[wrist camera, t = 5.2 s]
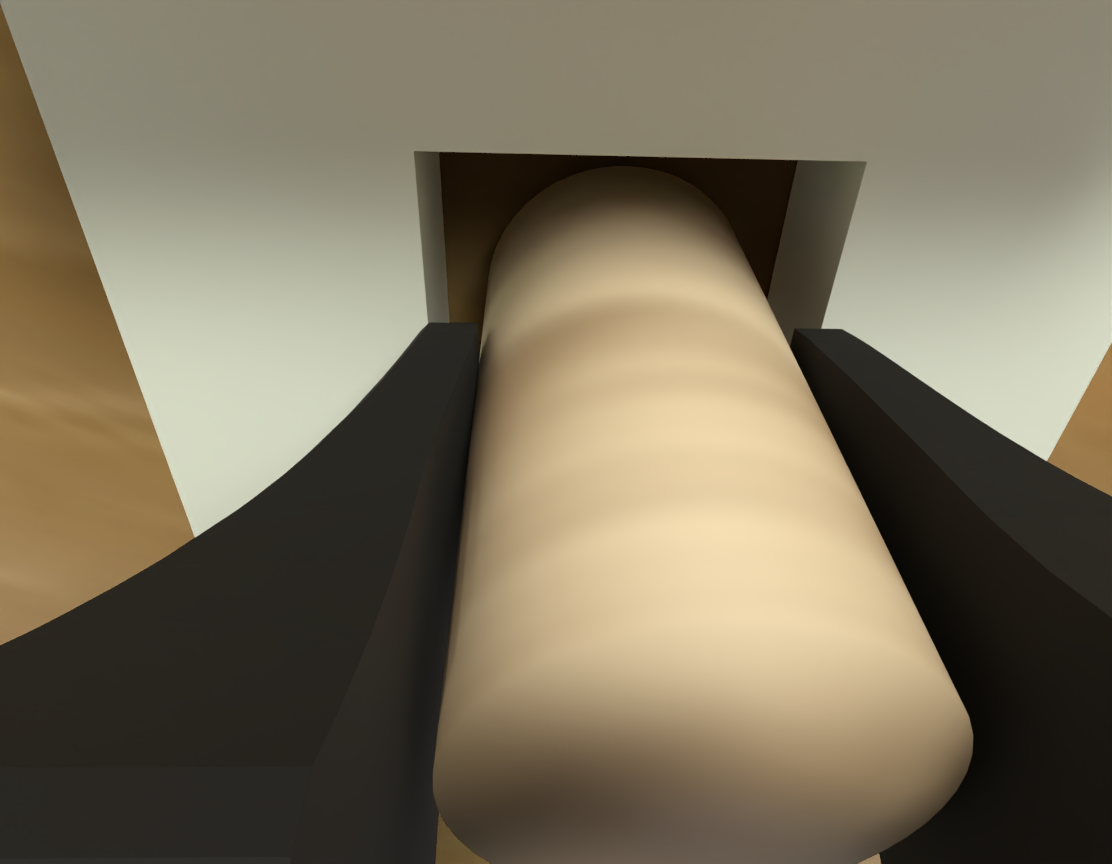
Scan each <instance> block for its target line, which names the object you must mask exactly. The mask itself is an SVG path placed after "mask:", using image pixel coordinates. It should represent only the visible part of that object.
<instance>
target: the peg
mask: <svg viewBox="0 0 1112 864" xmlns="http://www.w3.org/2000/svg"><path fill="white" fill-rule="evenodd" d="M972 753H973V732H972V727H971V723H970V718H969V716H968V713H967V711H966V709H965V707H964V705H963V703H962V701H961V699H960V697H959V695H958V693H957V691H956V689H955V687H954V685H953V683H952V681H951V678H950V676H949V674H948V672H947V670H946V668H945V666H944V664H943V662H942V660H941V658H940V656H939V654H938V652H937V650H936V648H935V645H934V643H933V641H932V639H931V637H930V635H929V633H928V631H927V629H926V627H925V625H924V623H923V621H922V619H921V617H920V615H919V613H918V610H917V608H916V606H915V604H914V602H913V600H912V598H911V596H910V594H909V592H908V590H907V588H906V586H905V584H904V582H903V580H902V578H901V575H900V573H899V571H898V569H897V567H896V565H895V563H894V561H893V559H892V557H891V555H890V553H889V551H888V549H887V547H886V545H885V542H884V540H883V538H882V536H881V534H880V532H879V530H878V528H877V526H876V524H875V522H874V520H873V518H872V516H871V514H870V512H869V510H868V507H867V505H866V503H865V501H864V499H863V497H862V495H861V493H860V491H859V489H858V487H857V485H856V483H855V481H854V479H853V477H852V474H851V472H850V470H849V468H848V466H847V464H846V462H845V460H844V458H843V456H842V454H841V452H840V450H839V448H838V446H837V444H836V442H835V439H834V437H833V435H832V433H831V431H830V429H829V427H828V425H827V423H826V421H825V419H824V417H823V415H822V413H821V411H820V409H819V406H818V404H817V402H816V400H815V398H814V396H813V394H812V392H811V390H810V388H809V386H808V384H807V382H806V380H805V378H804V376H803V374H802V371H801V369H800V367H799V365H798V363H797V361H796V359H795V357H794V355H793V353H792V351H791V349H790V347H789V345H788V343H787V341H786V338H785V336H784V334H783V332H782V330H781V328H780V326H779V324H778V322H777V320H776V318H775V316H774V314H773V312H772V310H771V308H770V306H769V303H768V301H767V299H766V297H765V295H764V293H763V291H762V289H761V287H760V285H759V283H758V281H757V279H756V277H755V275H754V273H753V271H752V268H751V266H750V264H749V262H748V260H747V258H746V256H745V254H744V252H743V250H742V248H741V246H740V244H739V242H738V240H737V238H736V235H735V234H734V232H733V230H732V228H731V226H730V224H729V222H728V220H727V219H726V217H725V216H724V215H723V213H722V212H721V211H720V209H719V208H718V207H717V206H716V205H715V204H714V203H713V202H712V201H711V200H710V199H709V198H708V197H707V196H706V195H705V194H703V193H702V192H701V191H699V190H698V189H697V188H696V187H694V186H693V185H691V184H689V183H687V182H685V181H683V180H682V179H680V178H678V177H675V176H672V175H670V174H667V173H664V172H662V171H657V170H653V169H649V168H644V167H633V166H612V167H603V168H597V169H591V170H587V171H584V172H581V173H578V174H574V175H571V176H569V177H567V178H565V179H563V180H560V181H558V182H556V183H554V184H553V185H551V186H549V187H548V188H546V189H545V190H543V191H541V192H540V193H538V194H537V195H536V196H535V197H534V198H532V199H531V200H530V201H529V202H528V203H526V204H525V205H524V206H523V208H522V209H521V210H520V211H519V212H518V213H517V214H516V215H515V216H514V217H513V219H512V220H511V222H510V223H509V225H508V226H507V227H506V229H505V230H504V232H503V234H502V236H501V238H500V240H499V242H498V244H497V246H496V249H495V252H494V255H493V258H492V261H491V266H490V271H489V277H488V286H487V295H486V304H485V313H484V322H483V331H482V339H481V348H480V357H479V368H478V377H477V386H476V395H475V404H474V413H473V420H472V429H471V438H470V447H469V455H468V464H467V473H466V482H465V491H464V500H463V509H462V518H461V527H460V536H459V545H458V554H457V563H456V572H455V580H454V589H453V598H452V607H451V616H450V625H449V634H448V643H447V652H446V661H445V670H444V679H443V688H442V697H441V705H440V714H439V723H438V732H437V741H436V750H435V759H434V768H433V794H434V798H435V801H436V805H437V809H438V811H439V812H440V814H441V816H442V818H443V820H444V822H445V824H446V825H447V826H448V828H449V829H450V830H451V831H452V832H453V834H454V835H455V836H456V837H457V838H458V839H459V840H460V841H461V842H462V843H463V844H464V845H466V846H467V847H468V848H469V849H470V850H471V851H473V852H474V853H475V854H477V855H479V856H480V857H482V858H483V859H485V860H486V861H488V862H489V863H491V864H857V863H859V862H861V861H864V860H866V859H868V858H870V857H872V856H874V855H876V854H878V853H880V852H882V851H884V850H886V849H888V848H889V847H891V846H893V845H894V844H896V843H898V842H899V841H901V840H903V839H904V838H906V837H908V836H909V835H910V834H912V833H913V832H914V831H916V830H917V829H919V828H920V827H921V826H923V825H924V824H925V823H927V822H928V821H929V820H930V819H931V818H932V817H933V816H934V815H935V814H936V813H937V812H939V811H940V810H941V809H942V808H943V807H944V806H945V804H946V803H947V802H948V801H949V799H950V798H951V797H952V796H953V795H954V793H955V792H956V791H957V789H958V788H959V786H960V784H961V782H962V780H963V779H964V777H965V775H966V773H967V770H968V767H969V764H970V761H971V757H972Z"/></svg>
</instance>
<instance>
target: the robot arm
mask: <svg viewBox="0 0 1112 864" xmlns="http://www.w3.org/2000/svg"><path fill="white" fill-rule="evenodd" d="M790 349H791V351H792V353H793V355H794V357H795V359H796V361H797V363H798V365H799V367H800V369H801V371H802V374H803V376H804V378H805V380H806V382H807V384H808V386H809V388H810V390H811V392H812V394H813V396H814V398H815V400H816V402H817V404H818V406H819V409H820V411H821V413H822V415H823V417H824V419H825V421H826V423H827V425H828V427H829V429H830V431H831V433H832V435H833V437H834V439H835V442H836V444H837V446H838V448H839V450H840V452H841V454H842V456H843V458H844V460H845V462H846V464H847V466H848V468H849V470H850V472H851V474H852V477H853V479H854V481H855V483H856V485H857V487H858V489H859V491H860V493H861V495H862V497H863V499H864V501H865V503H866V505H867V507H868V510H869V512H870V514H871V516H872V518H873V520H874V522H875V524H876V526H877V528H878V530H879V532H880V534H881V536H882V538H883V540H884V542H885V545H886V547H887V549H888V551H889V553H890V555H891V557H892V559H893V561H894V563H895V565H896V567H897V569H898V571H899V573H900V575H901V578H902V580H903V582H904V584H905V586H906V588H907V590H908V592H909V594H910V596H911V598H912V600H913V602H914V604H915V606H916V608H917V610H918V613H919V615H920V617H921V619H922V621H923V623H924V625H925V627H926V629H927V631H928V633H929V635H930V637H931V639H932V641H933V643H934V645H935V648H936V650H937V652H938V654H939V656H940V658H941V660H942V662H943V664H944V666H945V668H946V670H947V672H948V674H949V676H950V678H951V681H952V683H953V685H954V687H955V689H956V691H957V693H958V695H959V697H960V699H961V701H962V703H963V705H964V707H965V709H966V711H967V713H968V716H969V718H970V723H971V727H972V732H973V753H972V757H971V761H970V764H969V767H968V770H967V773H966V775H965V777H964V779H963V780H962V782H961V784H960V786H959V788H958V789H957V791H956V792H955V793H954V795H953V796H952V797H951V798H950V799H949V801H948V802H947V803H946V804H945V806H944V807H943V808H942V809H941V810H940V811H939V812H937V813H936V814H935V815H934V816H933V817H932V818H931V819H930V820H929V821H928V822H927V823H925V824H924V825H923V826H921V827H920V828H919V829H917V830H916V831H914V832H913V833H912V834H910V835H909V836H908V837H906V838H904V839H903V840H901V841H899V842H898V843H896V844H894V845H893V846H891V847H889V848H888V849H886V850H884V851H882V852H880V853H879V854H880V859H881V864H1112V496H1110V495H1108V494H1106V493H1104V492H1102V491H1100V490H1098V489H1096V488H1094V487H1092V486H1090V485H1088V484H1087V483H1085V482H1083V481H1081V480H1079V479H1077V478H1075V477H1074V476H1072V475H1070V474H1068V473H1066V472H1065V471H1063V470H1061V469H1059V468H1057V467H1056V466H1054V465H1052V464H1050V463H1049V462H1047V461H1045V460H1044V459H1042V458H1040V457H1039V456H1037V455H1035V454H1034V453H1032V452H1031V451H1029V450H1027V449H1026V448H1024V447H1022V446H1021V445H1019V444H1017V443H1016V442H1014V441H1012V440H1011V439H1009V438H1007V437H1006V436H1004V435H1002V434H1001V433H999V432H998V431H996V430H995V429H993V428H991V427H990V426H988V425H987V424H985V423H984V422H982V421H981V420H979V419H977V418H976V417H974V416H973V415H971V414H970V413H968V412H967V411H965V410H964V409H962V408H961V407H959V406H958V405H956V404H955V403H953V402H952V401H950V400H949V399H947V398H946V397H944V396H943V395H941V394H940V393H939V392H937V391H936V390H934V389H933V388H931V387H930V386H928V385H927V384H925V383H924V382H923V381H921V380H920V379H918V378H917V377H915V376H914V375H912V374H911V373H909V372H908V371H907V370H905V369H904V368H902V367H901V366H899V365H898V364H896V363H895V362H894V361H892V360H891V359H889V358H888V357H886V356H885V355H883V354H882V353H880V352H879V351H877V350H876V349H874V348H873V347H871V346H870V345H868V344H867V343H865V342H864V341H862V340H860V339H859V338H857V337H855V336H854V335H852V334H850V333H848V332H846V331H845V330H843V329H813V328H794V332H793V336H792V340H791V344H790ZM478 368H479V352H478V326H477V323H435V322H429V323H428V324H427V325H426V326H425V327H424V328H423V329H422V330H421V331H420V332H419V333H418V335H417V336H416V337H415V338H414V340H413V341H412V342H411V343H410V345H409V346H408V347H407V348H406V350H405V351H404V352H403V353H402V355H401V356H400V357H399V358H398V359H397V361H396V362H395V363H394V364H393V365H392V367H391V368H390V369H389V370H388V371H387V372H386V374H385V375H384V376H383V377H382V378H381V379H380V380H379V382H378V383H377V384H376V385H375V386H374V387H373V388H372V389H371V390H370V391H369V393H368V394H367V395H366V396H365V397H364V398H363V399H362V400H361V401H360V402H359V404H358V405H357V406H356V407H355V408H354V409H353V410H352V411H351V412H350V413H349V414H348V415H347V416H346V417H345V418H344V419H343V420H342V421H341V422H340V423H339V424H338V425H337V426H336V427H335V428H334V429H333V430H332V431H331V432H330V433H329V434H328V435H326V436H325V437H324V438H323V439H322V440H321V441H320V442H319V443H318V444H317V445H316V446H315V447H314V448H313V449H312V450H311V451H310V452H309V453H308V454H307V455H305V456H304V457H303V458H302V459H301V460H300V461H299V462H297V463H296V464H295V465H294V466H293V467H292V468H291V469H289V470H288V471H287V472H286V473H285V474H283V475H282V476H281V477H280V478H279V479H277V480H276V481H275V482H273V483H272V484H271V485H270V486H268V487H267V488H266V489H264V490H263V491H262V492H260V493H259V494H258V495H257V496H255V497H254V498H253V499H251V500H250V501H249V502H247V503H246V504H245V505H243V506H242V507H240V508H239V509H238V510H236V511H235V512H233V513H232V514H230V515H229V516H227V517H226V518H224V519H223V520H221V521H220V522H218V523H216V524H215V525H213V526H212V527H210V528H209V529H207V530H206V531H204V532H203V533H201V534H200V535H198V536H197V537H195V538H194V539H192V540H191V541H189V542H188V543H186V544H185V545H183V546H182V547H180V548H179V549H177V550H176V551H174V552H173V553H171V554H170V555H168V556H166V557H165V558H163V559H162V560H160V561H158V562H157V563H155V564H153V565H152V566H150V567H148V568H146V569H145V570H143V571H141V572H139V573H138V574H136V575H134V576H133V577H131V578H129V579H127V580H126V581H124V582H122V583H120V584H119V585H117V586H115V587H114V588H112V589H110V590H108V591H106V592H104V593H102V594H101V595H99V596H97V597H95V598H93V599H91V600H89V601H88V602H86V603H84V604H82V605H80V606H78V607H76V608H75V609H73V610H71V611H69V612H67V613H65V614H63V615H61V616H60V617H58V618H56V619H54V620H52V621H50V622H48V623H46V624H44V625H42V626H40V627H38V628H36V629H34V630H32V631H30V632H28V633H26V634H24V635H22V636H19V637H17V638H15V639H13V640H11V641H9V642H7V643H5V644H2V645H0V864H435V858H436V843H437V830H438V816H439V811H438V809H437V805H436V801H435V798H434V794H433V768H434V759H435V750H436V741H437V732H438V723H439V714H440V705H441V697H442V688H443V679H444V670H445V661H446V652H447V643H448V634H449V625H450V616H451V607H452V598H453V589H454V580H455V572H456V563H457V554H458V545H459V536H460V527H461V518H462V509H463V500H464V491H465V482H466V473H467V464H468V455H469V447H470V438H471V429H472V420H473V413H474V404H475V395H476V386H477V377H478Z"/></svg>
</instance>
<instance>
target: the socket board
mask: <svg viewBox="0 0 1112 864" xmlns="http://www.w3.org/2000/svg"><path fill="white" fill-rule="evenodd" d="M0 4H1V7H2V10H3V13H4V15H5V18H6V21H7V24H8V26H9V29H10V32H11V35H12V37H13V40H14V43H15V45H16V48H17V51H18V54H19V56H20V59H21V62H22V65H23V67H24V70H25V73H26V76H27V78H28V81H29V84H30V87H31V89H32V92H33V95H34V98H35V100H36V103H37V106H38V109H39V111H40V114H41V117H42V120H43V122H44V125H45V128H46V130H47V133H48V136H49V139H50V141H51V144H52V147H53V150H54V152H55V155H56V158H57V161H58V163H59V166H60V169H61V172H62V174H63V177H64V180H65V183H66V185H67V188H68V191H69V194H70V196H71V199H72V202H73V204H74V207H75V210H76V213H77V215H78V218H79V221H80V224H81V226H82V229H83V232H84V235H85V237H86V240H87V243H88V246H89V248H90V251H91V254H92V257H93V259H94V262H95V265H96V268H97V270H98V273H99V276H100V279H101V281H102V284H103V287H104V289H105V292H106V295H107V298H108V300H109V303H110V306H111V309H112V311H113V314H114V317H115V320H116V322H117V325H118V328H119V331H120V333H121V336H122V339H123V342H124V344H125V347H126V350H127V353H128V355H129V358H130V361H131V364H132V366H133V369H134V372H135V374H136V377H137V380H138V383H139V385H140V388H141V391H142V394H143V396H144V399H145V402H146V405H147V407H148V410H149V413H150V416H151V418H152V421H153V424H154V427H155V429H156V432H157V435H158V438H159V440H160V443H161V446H162V449H163V451H164V454H165V457H166V459H167V462H168V465H169V468H170V470H171V473H172V476H173V479H174V481H175V484H176V487H177V490H178V492H179V495H180V498H181V501H182V503H183V506H184V509H185V512H186V514H187V517H188V520H189V523H190V525H191V528H192V531H193V534H194V536H195V537H197V536H198V535H200V534H201V533H203V532H204V531H206V530H207V529H209V528H210V527H212V526H213V525H215V524H216V523H218V522H220V521H221V520H223V519H224V518H226V517H227V516H229V515H230V514H232V513H233V512H235V511H236V510H238V509H239V508H240V507H242V506H243V505H245V504H246V503H247V502H249V501H250V500H251V499H253V498H254V497H255V496H257V495H258V494H259V493H260V492H262V491H263V490H264V489H266V488H267V487H268V486H270V485H271V484H272V483H273V482H275V481H276V480H277V479H279V478H280V477H281V476H282V475H283V474H285V473H286V472H287V471H288V470H289V469H291V468H292V467H293V466H294V465H295V464H296V463H297V462H299V461H300V460H301V459H302V458H303V457H304V456H305V455H307V454H308V453H309V452H310V451H311V450H312V449H313V448H314V447H315V446H316V445H317V444H318V443H319V442H320V441H321V440H322V439H323V438H324V437H325V436H326V435H328V434H329V433H330V432H331V431H332V430H333V429H334V428H335V427H336V426H337V425H338V424H339V423H340V422H341V421H342V420H343V419H344V418H345V417H346V416H347V415H348V414H349V413H350V412H351V411H352V410H353V409H354V408H355V407H356V406H357V405H358V404H359V402H360V401H361V400H362V399H363V398H364V397H365V396H366V395H367V394H368V393H369V391H370V390H371V389H372V388H373V387H374V386H375V385H376V384H377V383H378V382H379V380H380V379H381V378H382V377H383V376H384V375H385V374H386V372H387V371H388V370H389V369H390V368H391V367H392V365H393V364H394V363H395V362H396V361H397V359H398V358H399V357H400V356H401V355H402V353H403V352H404V351H405V350H406V348H407V347H408V346H409V345H410V343H411V342H412V341H413V340H414V338H415V337H416V336H417V335H418V333H419V332H420V331H421V330H422V329H423V328H424V327H425V326H426V325H427V324H428V323H429V322H435V323H450V318H449V302H448V286H447V271H446V255H445V239H444V223H443V207H442V191H441V175H440V159H439V152H472V153H515V154H558V155H602V156H645V157H688V158H731V159H774V160H798V162H797V167H796V171H795V176H794V180H793V185H792V189H791V194H790V198H789V203H788V207H787V212H786V217H785V221H784V226H783V230H782V235H781V239H780V244H779V248H778V253H777V258H776V262H775V267H774V271H773V276H772V280H771V285H770V289H769V294H768V298H767V301H768V303H769V306H770V308H771V310H772V312H773V314H774V316H775V318H776V320H777V322H778V324H779V326H780V328H781V330H782V332H783V334H784V336H785V338H786V341H787V343H788V345H789V347H790V344H791V340H792V336H793V332H794V328H813V329H843V330H845V331H846V332H848V333H850V334H852V335H854V336H855V337H857V338H859V339H860V340H862V341H864V342H865V343H867V344H868V345H870V346H871V347H873V348H874V349H876V350H877V351H879V352H880V353H882V354H883V355H885V356H886V357H888V358H889V359H891V360H892V361H894V362H895V363H896V364H898V365H899V366H901V367H902V368H904V369H905V370H907V371H908V372H909V373H911V374H912V375H914V376H915V377H917V378H918V379H920V380H921V381H923V382H924V383H925V384H927V385H928V386H930V387H931V388H933V389H934V390H936V391H937V392H939V393H940V394H941V395H943V396H944V397H946V398H947V399H949V400H950V401H952V402H953V403H955V404H956V405H958V406H959V407H961V408H962V409H964V410H965V411H967V412H968V413H970V414H971V415H973V416H974V417H976V418H977V419H979V420H981V421H982V422H984V423H985V424H987V425H988V426H990V427H991V428H993V429H995V430H996V431H998V432H999V433H1001V434H1002V435H1004V436H1006V437H1007V438H1009V439H1011V440H1012V441H1014V442H1016V443H1017V444H1019V445H1021V446H1022V447H1024V448H1026V449H1027V450H1029V451H1031V452H1032V453H1034V454H1035V455H1037V456H1039V457H1040V458H1042V459H1044V460H1045V461H1047V460H1048V458H1049V456H1050V454H1051V452H1052V451H1053V449H1054V447H1055V445H1056V443H1057V441H1058V440H1059V438H1060V436H1061V434H1062V432H1063V430H1064V429H1065V427H1066V425H1067V423H1068V421H1069V419H1070V418H1071V416H1072V414H1073V412H1074V410H1075V408H1076V407H1077V405H1078V403H1079V401H1080V399H1081V398H1082V396H1083V394H1084V392H1085V390H1086V388H1087V387H1088V385H1089V383H1090V381H1091V379H1092V377H1093V376H1094V374H1095V372H1096V370H1097V368H1098V366H1099V365H1100V363H1101V361H1102V359H1103V357H1104V355H1105V354H1106V352H1107V350H1108V348H1109V346H1110V344H1111V343H1112V0H0Z"/></svg>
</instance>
